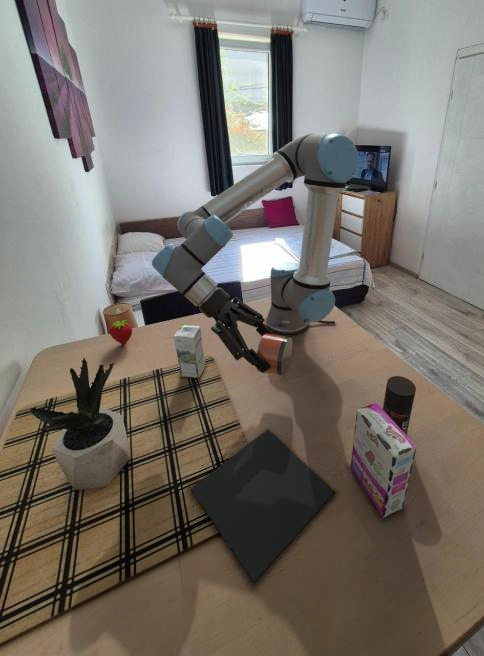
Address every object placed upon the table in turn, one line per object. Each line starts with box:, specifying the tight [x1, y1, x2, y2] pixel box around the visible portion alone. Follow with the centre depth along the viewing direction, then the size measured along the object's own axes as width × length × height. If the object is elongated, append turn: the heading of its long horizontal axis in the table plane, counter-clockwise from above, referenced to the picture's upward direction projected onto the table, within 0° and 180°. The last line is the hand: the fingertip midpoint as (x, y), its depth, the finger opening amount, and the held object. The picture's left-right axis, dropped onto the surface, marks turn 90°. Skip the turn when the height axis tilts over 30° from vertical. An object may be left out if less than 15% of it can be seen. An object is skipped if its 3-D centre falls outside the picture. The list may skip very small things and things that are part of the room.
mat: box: [190, 429, 336, 585], centre depth 64 cm, size 20×20×1 cm
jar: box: [256, 333, 293, 378], centre depth 83 cm, size 6×10×10 cm
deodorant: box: [382, 375, 417, 437], centre depth 73 cm, size 6×6×15 cm
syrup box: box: [173, 324, 206, 379], centre depth 93 cm, size 6×6×14 cm
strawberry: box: [108, 319, 133, 346], centre depth 106 cm, size 6×8×10 cm
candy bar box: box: [350, 402, 417, 519], centre depth 61 cm, size 11×5×16 cm, turn 23°
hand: (271, 355), depth 84 cm, fingers closed on jar, 10 cm apart
